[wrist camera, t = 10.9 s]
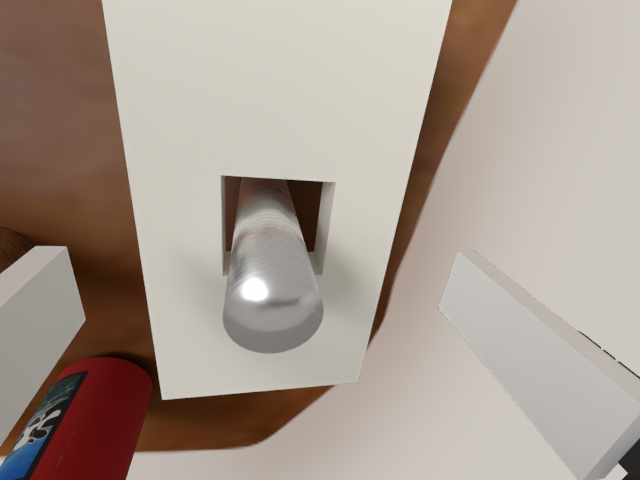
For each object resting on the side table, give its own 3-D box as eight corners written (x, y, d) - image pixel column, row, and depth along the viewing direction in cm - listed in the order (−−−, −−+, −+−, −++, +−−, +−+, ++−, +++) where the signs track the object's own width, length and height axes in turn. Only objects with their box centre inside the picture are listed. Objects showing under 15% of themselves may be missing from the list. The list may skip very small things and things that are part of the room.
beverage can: (59, 345, 23) (-97, 564, 13) (158, 351, 25) (94, 544, 15) (63, 406, 26) (-63, 628, 16) (153, 407, 28) (95, 604, 18)
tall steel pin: (240, 206, 21) (223, 355, 10) (240, 161, 20) (222, 274, 8) (284, 208, 22) (317, 351, 10) (288, 165, 20) (329, 275, 9)
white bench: (184, 319, 24) (162, 399, 18) (150, -49, 15) (80, -137, 9) (333, 313, 27) (358, 382, 21) (388, -1, 17) (462, -42, 11)
